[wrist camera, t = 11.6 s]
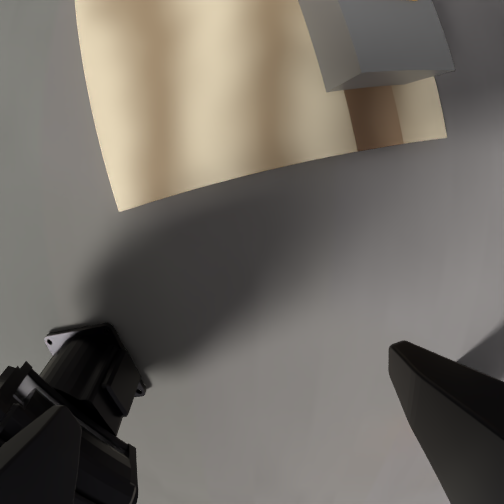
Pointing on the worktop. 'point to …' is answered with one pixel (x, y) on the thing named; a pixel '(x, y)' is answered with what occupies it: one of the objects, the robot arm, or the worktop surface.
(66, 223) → the worktop surface
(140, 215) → the worktop surface
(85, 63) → the board
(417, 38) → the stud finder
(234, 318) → the worktop surface
